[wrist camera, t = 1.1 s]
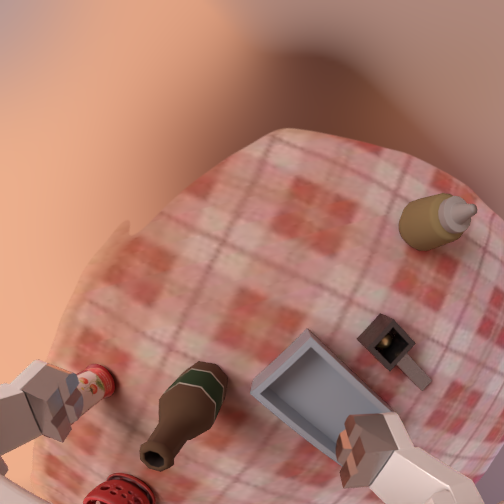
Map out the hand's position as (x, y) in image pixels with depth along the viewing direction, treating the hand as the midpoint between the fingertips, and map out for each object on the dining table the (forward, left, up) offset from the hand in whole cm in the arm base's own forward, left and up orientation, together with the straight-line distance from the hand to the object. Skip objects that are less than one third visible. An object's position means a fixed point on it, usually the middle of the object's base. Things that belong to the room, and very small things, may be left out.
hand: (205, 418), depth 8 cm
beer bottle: (-3, +17, -40) cm, 43 cm away
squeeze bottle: (-10, -25, -40) cm, 48 cm away
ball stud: (-18, -8, -40) cm, 44 cm away
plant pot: (-11, +52, -40) cm, 67 cm away
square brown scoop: (-23, -8, -40) cm, 47 cm away
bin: (-19, +5, -40) cm, 44 cm away
